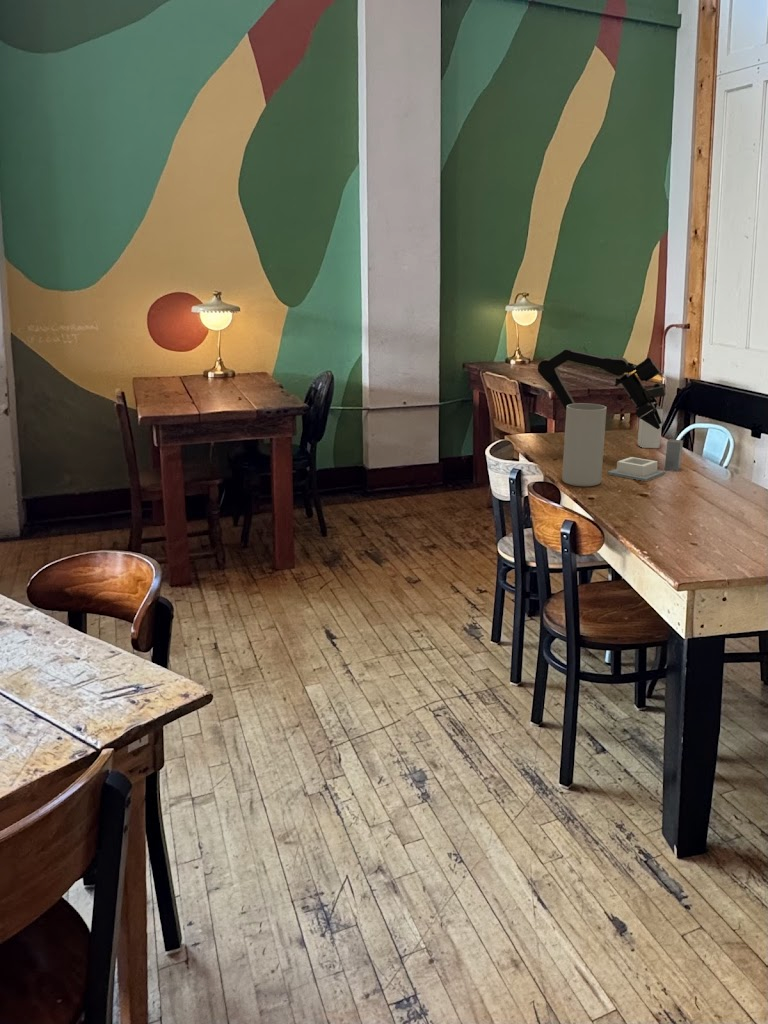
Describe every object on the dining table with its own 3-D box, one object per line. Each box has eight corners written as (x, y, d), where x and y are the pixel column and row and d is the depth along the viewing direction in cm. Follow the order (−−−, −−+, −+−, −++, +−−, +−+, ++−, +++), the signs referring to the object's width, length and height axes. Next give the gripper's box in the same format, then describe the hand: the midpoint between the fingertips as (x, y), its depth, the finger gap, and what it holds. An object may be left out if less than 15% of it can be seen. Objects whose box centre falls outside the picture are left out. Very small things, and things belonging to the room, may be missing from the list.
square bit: (677, 471, 304) (680, 442, 301) (664, 469, 306) (667, 441, 303) (680, 468, 308) (683, 440, 305) (667, 467, 310) (669, 439, 307)
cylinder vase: (572, 488, 282) (577, 411, 275) (555, 478, 294) (559, 404, 287) (607, 485, 286) (613, 409, 278) (589, 476, 297) (594, 402, 290)
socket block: (645, 481, 290) (646, 468, 289) (607, 474, 299) (608, 461, 298) (665, 474, 300) (666, 461, 299) (628, 467, 309) (629, 454, 308)
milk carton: (655, 444, 344) (660, 396, 339) (659, 448, 337) (664, 399, 332) (637, 444, 345) (641, 395, 339) (640, 448, 338) (644, 399, 333)
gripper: (653, 379, 297) (679, 418, 297) (656, 372, 314) (681, 408, 314) (624, 398, 302) (650, 436, 302) (629, 390, 318) (653, 425, 319)
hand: (659, 426), depth 309 cm, fingers open, 9 cm apart
